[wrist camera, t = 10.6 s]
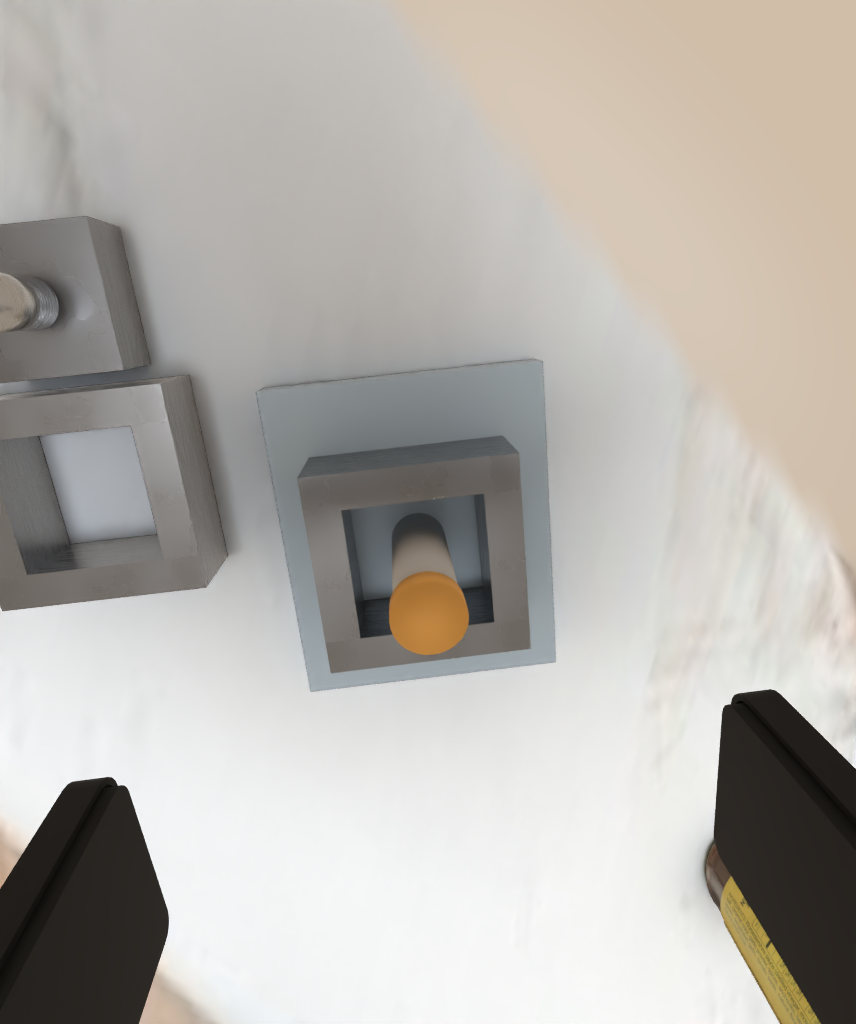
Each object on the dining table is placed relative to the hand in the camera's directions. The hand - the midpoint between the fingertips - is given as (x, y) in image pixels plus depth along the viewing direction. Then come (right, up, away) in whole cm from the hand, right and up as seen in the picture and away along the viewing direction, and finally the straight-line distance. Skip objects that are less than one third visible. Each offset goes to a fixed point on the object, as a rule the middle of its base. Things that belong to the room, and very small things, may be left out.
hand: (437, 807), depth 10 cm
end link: (-1, +4, +14) cm, 14 cm away
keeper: (-1, +4, +15) cm, 15 cm away
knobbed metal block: (-12, +12, +12) cm, 21 cm away
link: (-12, +6, +14) cm, 19 cm away
